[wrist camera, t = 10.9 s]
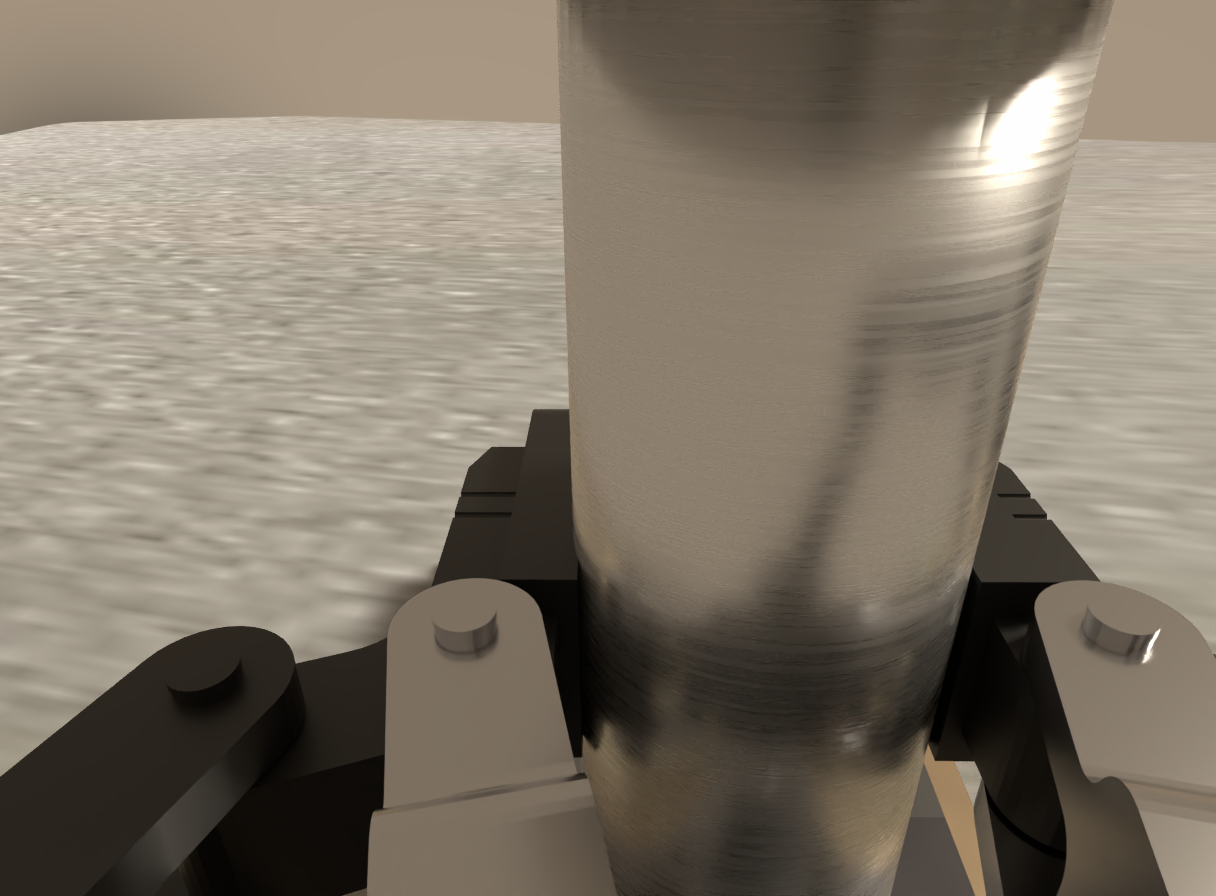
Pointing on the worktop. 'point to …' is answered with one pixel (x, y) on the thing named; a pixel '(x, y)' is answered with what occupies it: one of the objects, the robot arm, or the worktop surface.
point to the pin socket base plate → (937, 837)
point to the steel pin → (792, 401)
